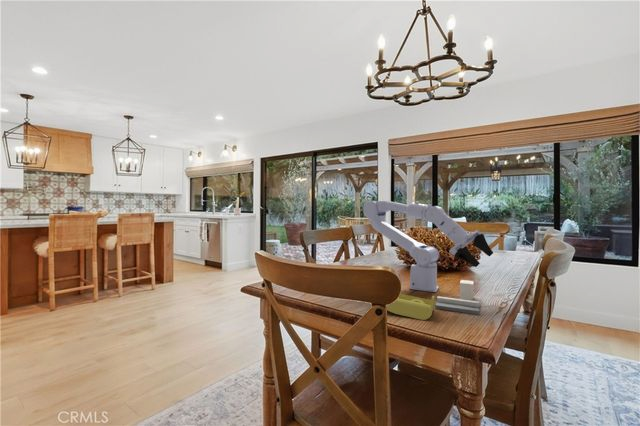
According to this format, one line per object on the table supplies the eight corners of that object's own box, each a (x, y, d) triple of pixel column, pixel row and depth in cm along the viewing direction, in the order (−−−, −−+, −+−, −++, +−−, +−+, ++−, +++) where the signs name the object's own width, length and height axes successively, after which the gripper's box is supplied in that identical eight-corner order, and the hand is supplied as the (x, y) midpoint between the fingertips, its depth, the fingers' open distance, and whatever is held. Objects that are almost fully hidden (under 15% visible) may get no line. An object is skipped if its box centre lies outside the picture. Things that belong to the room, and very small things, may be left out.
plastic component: (435, 301, 95) (434, 294, 87) (432, 325, 93) (430, 321, 84) (373, 288, 104) (366, 281, 95) (368, 310, 101) (361, 305, 93)
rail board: (435, 308, 95) (435, 301, 95) (439, 299, 104) (439, 293, 104) (479, 314, 90) (479, 307, 90) (479, 304, 99) (479, 298, 99)
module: (459, 299, 105) (459, 282, 104) (460, 295, 109) (460, 279, 109) (472, 301, 103) (473, 284, 103) (473, 297, 107) (473, 281, 107)
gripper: (445, 234, 105) (477, 264, 99) (471, 216, 111) (503, 243, 105) (437, 245, 111) (467, 274, 104) (462, 227, 116) (492, 254, 110)
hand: (484, 260), depth 105 cm, fingers open, 7 cm apart
